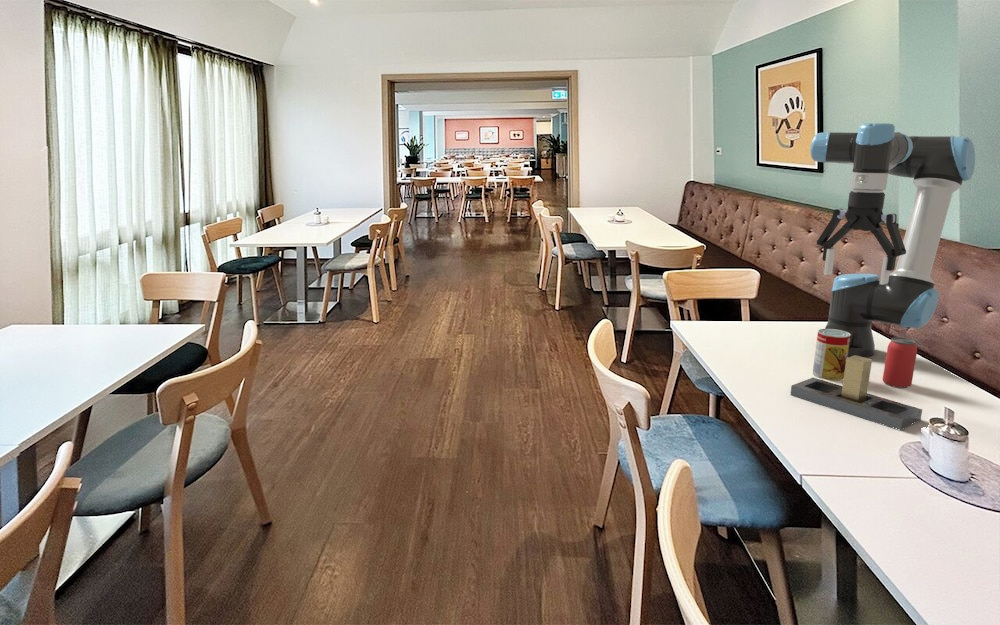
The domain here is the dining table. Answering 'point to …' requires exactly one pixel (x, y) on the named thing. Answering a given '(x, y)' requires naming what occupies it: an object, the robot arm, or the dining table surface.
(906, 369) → the beer can
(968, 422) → the dining table surface
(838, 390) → the grey slotted tray
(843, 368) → the canned food
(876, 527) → the dining table surface
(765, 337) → the dining table surface
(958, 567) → the dining table surface
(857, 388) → the wooden block
